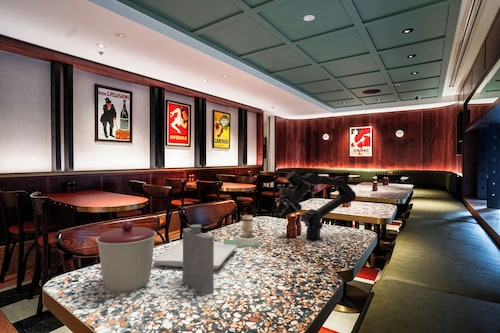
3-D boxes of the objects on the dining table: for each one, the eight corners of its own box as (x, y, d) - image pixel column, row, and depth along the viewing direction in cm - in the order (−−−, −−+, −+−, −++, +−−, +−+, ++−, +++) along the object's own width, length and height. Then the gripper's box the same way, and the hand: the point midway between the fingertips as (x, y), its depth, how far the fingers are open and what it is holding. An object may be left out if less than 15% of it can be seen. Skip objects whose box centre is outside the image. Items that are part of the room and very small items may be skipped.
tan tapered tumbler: (253, 240, 141) (253, 215, 140) (252, 243, 135) (252, 217, 135) (242, 240, 141) (242, 215, 141) (241, 243, 136) (241, 216, 136)
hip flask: (215, 293, 85) (215, 228, 85) (204, 297, 83) (204, 230, 82) (189, 277, 97) (189, 220, 97) (178, 280, 94) (178, 221, 94)
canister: (82, 299, 82) (82, 227, 81) (114, 274, 100) (114, 215, 99) (143, 300, 81) (143, 228, 81) (164, 275, 99) (164, 216, 99)
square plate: (219, 275, 99) (219, 264, 99) (149, 269, 105) (149, 259, 105) (237, 252, 126) (237, 243, 126) (181, 248, 131) (181, 240, 131)
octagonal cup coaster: (251, 237, 148) (251, 231, 148) (264, 245, 135) (264, 238, 134) (219, 242, 140) (219, 235, 140) (229, 250, 127) (229, 242, 127)
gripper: (282, 180, 151) (262, 201, 149) (295, 182, 133) (273, 206, 131) (295, 194, 153) (276, 215, 151) (310, 198, 135) (289, 222, 133)
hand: (278, 214), depth 141 cm, fingers open, 9 cm apart
